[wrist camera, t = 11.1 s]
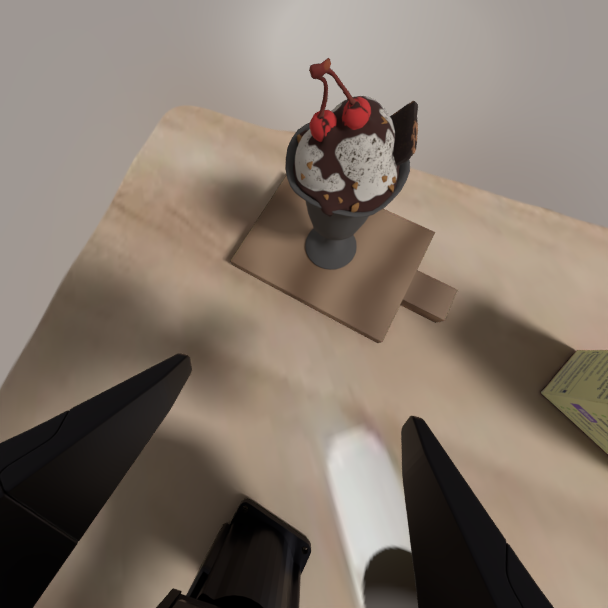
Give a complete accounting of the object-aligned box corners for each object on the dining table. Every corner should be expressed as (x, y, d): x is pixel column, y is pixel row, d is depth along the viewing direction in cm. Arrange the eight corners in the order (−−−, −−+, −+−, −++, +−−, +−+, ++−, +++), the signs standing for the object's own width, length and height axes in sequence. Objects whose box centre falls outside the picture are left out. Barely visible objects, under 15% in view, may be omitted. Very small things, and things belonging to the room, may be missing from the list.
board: (464, 257, 23) (475, 250, 22) (417, 364, 21) (425, 365, 20) (292, 177, 26) (291, 167, 24) (235, 266, 24) (230, 260, 22)
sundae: (284, 262, 22) (232, 78, 7) (314, 205, 23) (321, -51, 8) (348, 290, 21) (433, 149, 6) (375, 230, 22) (500, -3, 8)
